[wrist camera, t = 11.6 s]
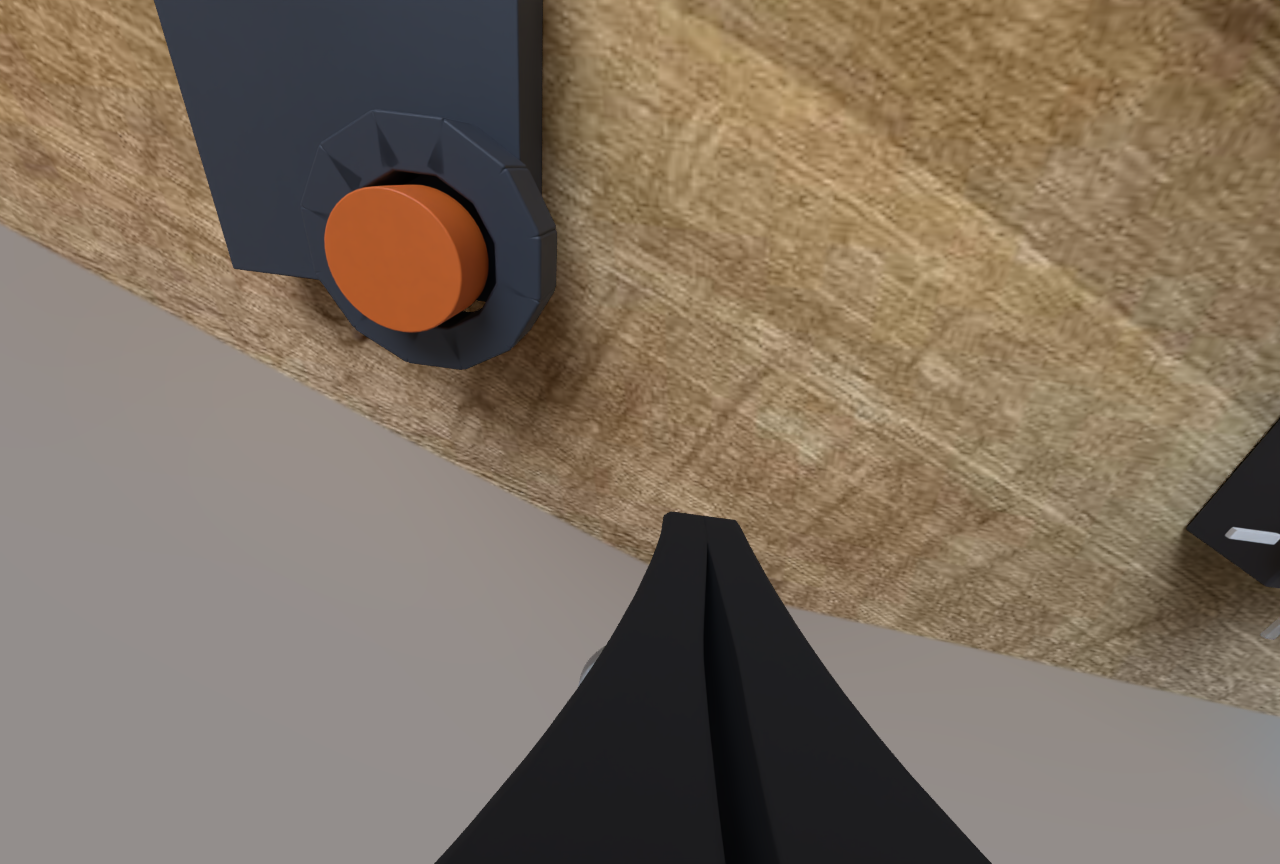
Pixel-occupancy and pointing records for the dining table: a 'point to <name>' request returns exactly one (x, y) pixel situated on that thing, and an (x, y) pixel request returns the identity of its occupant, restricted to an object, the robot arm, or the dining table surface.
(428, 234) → the button
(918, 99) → the dining table surface
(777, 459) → the dining table surface
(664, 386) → the dining table surface
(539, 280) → the button block
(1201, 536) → the timer panel
